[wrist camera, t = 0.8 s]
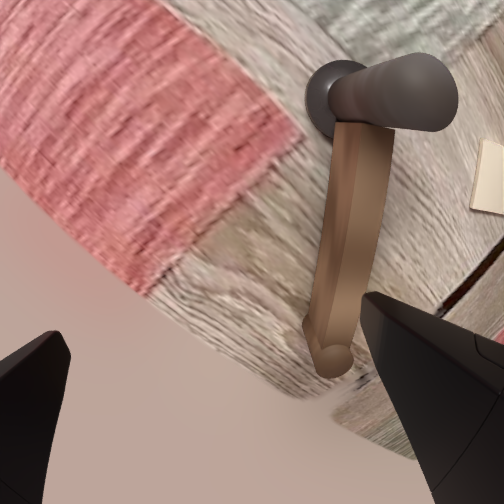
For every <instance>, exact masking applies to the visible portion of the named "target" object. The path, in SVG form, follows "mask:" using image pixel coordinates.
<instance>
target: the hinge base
mask: <svg viewBox="0 0 504 504" xmlns="http://www.w3.org/2000/svg"><path fill="white" fill-rule="evenodd" d="M365 68H367V67H366V66H364V65H362V64H360V63H357V62H354V61H349V60H337V61H333V62H330V63H328V64H326V65H324V66H322V67H321V68H319V69H318V70H317V71H316V72H315V73H314V74H313V75H312V76H311V78H310V80H309V82H308V84H307V87H306V91H305V104H306V109H307V112H308V115H309V117H310V119H311V121H312V122H313V123H314V125H315V126H316V127H317V128H318V129H319V130H320V131H321V132H322V133H323V134H325V135H326V136H328V137H330V138H332V139H334V131H335V122H341V121H340V120H338V119H337V118H336V117H335V116H334V115H333V113H332V112H331V110H330V108H329V105H328V91H329V88H330V86H331V85H332V84H333V82H334V81H336V80H337V79H339V78H341V77H344V76H346V75H349V74H352V73H354V72H357V71H360V70H363V69H365Z"/></svg>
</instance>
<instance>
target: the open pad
mask: <svg viewBox="0 0 504 504" xmlns="http://www.w3.org/2000/svg"><path fill="white" fill-rule="evenodd" d="M469 207H471V208H473V209H478V210H483V211H489V212H494V213H499V214H504V146H501V145H499V144H496V143H494V142H491V141H489V140H486V139H483V138H480V146H479V154H478V161H477V168H476V174H475V180H474V186H473V191H472V197H471V202H470V206H469Z"/></svg>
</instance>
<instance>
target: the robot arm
mask: <svg viewBox="0 0 504 504" xmlns="http://www.w3.org/2000/svg"><path fill="white" fill-rule="evenodd" d="M360 323H361V327H362V330H363V333H364V335H365V338H366V341H367V344H368V347H369V350H370V352H371V355H372V358H373V361H374V364H375V367H376V369H377V371H378V374H379V376H380V378H381V380H382V382H383V384H384V386H385V388H386V391H387V393H388V395H389V397H390V399H391V401H392V403H393V405H394V408H395V410H396V412H397V414H398V416H399V419H400V421H401V423H402V425H403V427H404V430H405V432H406V434H407V436H408V439H409V441H410V443H411V446H412V448H413V450H414V452H415V455H416V457H417V460H418V462H419V464H420V467H421V469H422V471H423V474H424V476H425V479H426V481H427V484H428V486H429V489H430V491H431V492H432V493H431V494H432V497H433V499H434V502H435V504H504V345H503V344H500V343H498V342H495V341H493V340H490V339H488V338H485V337H483V336H481V335H479V334H476V333H475V334H474V333H473V332H471V331H469V330H467V329H464V328H462V327H460V326H457V325H455V324H453V323H450V322H448V321H446V320H443V319H441V318H439V317H436V316H434V315H432V314H429V313H427V312H425V311H422V310H420V309H418V308H415V307H413V306H411V305H408V304H406V303H403V302H401V301H399V300H396V299H394V298H392V297H389V296H387V295H384V294H382V293H380V292H377V291H374V292H369V293H364V294H363V295H362V298H361V312H360ZM70 360H71V353H70V351H69V348H68V346H67V345H66V343H65V341H64V339H63V336H62V335H61V333H60V332H59V331H47V332H45V333H43V334H42V335H40V336H39V337H37V338H36V339H34V340H32V341H31V342H29V343H28V344H26V345H24V346H23V347H21V348H20V349H18V350H17V351H15V352H13V353H12V354H10V355H9V356H7V357H6V358H4V359H3V360H1V361H0V504H42V499H43V491H44V485H45V479H46V473H47V467H48V462H49V457H50V452H51V447H52V442H53V438H54V433H55V429H56V425H57V421H58V417H59V412H60V409H61V405H62V401H63V397H64V392H65V385H66V380H67V375H68V370H69V365H70Z"/></svg>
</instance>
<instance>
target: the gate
mask: <svg viewBox="0 0 504 504" xmlns="http://www.w3.org/2000/svg"><path fill="white" fill-rule="evenodd" d="M328 105H329V108H330V110H331V112H332V113H333V115H334V116H335V117H336V118H337V119H338V120H340V121H341V122H335V131H334V141H333V151H332V160H331V169H330V177H329V185H328V193H327V201H326V208H325V215H324V222H323V229H322V236H321V242H320V249H319V255H318V261H317V267H316V273H315V279H314V285H313V290H312V296H311V301H310V307H309V312H308V314H307V315H306V316H305V318H304V319H303V322H302V328H303V331H304V334H305V337H306V340H307V344H308V347H309V350H310V353H311V356H312V360H313V363H314V366H315V369H316V372H317V374H318V375H319V376H321V377H323V378H328V379H331V378H336V377H339V376H341V375H343V374H345V373H346V372H347V371H348V370H349V369H350V368H351V367H352V365H353V362H354V358H353V355H352V353H351V351H350V346H351V342H352V339H353V336H354V332H355V329H356V326H357V322H358V319H359V315H360V312H361V298H362V295H363V294H364V293H366V289H367V285H368V281H369V277H370V273H371V269H372V264H373V260H374V256H375V251H376V246H377V242H378V237H379V232H380V227H381V222H382V217H383V211H384V206H385V200H386V194H387V188H388V181H389V175H390V168H391V160H392V153H393V145H394V136H395V130H394V129H389V128H385V127H391V128H401V129H411V130H420V131H428V132H436V131H440V130H442V129H444V128H446V127H447V126H448V125H449V124H450V123H451V122H452V121H453V119H454V117H455V115H456V112H457V108H458V91H457V87H456V83H455V81H454V78H453V76H452V75H451V73H450V71H449V70H448V69H447V67H446V66H445V65H444V64H443V63H442V62H441V61H440V60H438V59H437V58H435V57H434V56H432V55H430V54H426V53H412V54H408V55H405V56H402V57H399V58H395V59H392V60H389V61H386V62H383V63H380V64H377V65H374V66H371V67H368V68H365V69H363V70H360V71H357V72H354V73H352V74H349V75H346V76H344V77H341V78H339V79H337V80H336V81H334V82H333V84H332V85H331V86H330V88H329V91H328Z"/></svg>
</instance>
